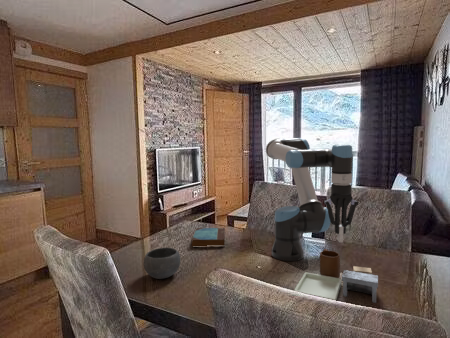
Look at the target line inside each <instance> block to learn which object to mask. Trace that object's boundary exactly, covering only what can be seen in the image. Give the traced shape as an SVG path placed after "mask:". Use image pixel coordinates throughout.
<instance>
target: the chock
mask: <svg viewBox="0 0 450 338" xmlns="http://www.w3.org/2000/svg"><path fill="white" fill-rule="evenodd" d="M352 268H353V269H352V271H354V272H359V273H365V274H371V275H373V271H372V268H371V267H364V266H355V265H353V267H352Z"/></svg>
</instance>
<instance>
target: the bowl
mask: <svg viewBox="0 0 450 338" xmlns="http://www.w3.org/2000/svg"><path fill="white" fill-rule="evenodd" d="M180 265H181V255H180V252H179V251H178V250H177V249H175V248H173V247H158V248H155V249H151V250H149V251H148V252H147V253H145V255H144V259H143V268H144V272H146V274H147V275H148V276H150V277H151V278H154V279H157V280H158V279H159V280H163V279H167V278H170V277H171V276H173V275H174V274H176V272H177V271H178V270H179V268H180Z"/></svg>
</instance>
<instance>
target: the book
mask: <svg viewBox="0 0 450 338" xmlns="http://www.w3.org/2000/svg"><path fill="white" fill-rule="evenodd" d="M225 228H226V227H197V228H195V231H194V234H193V236H192V239H191V240H192V242H191V247H192V246H207V245H225V244H226V242H225V241H226V229H225ZM225 246H226V245H225Z"/></svg>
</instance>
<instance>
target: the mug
mask: <svg viewBox="0 0 450 338" xmlns="http://www.w3.org/2000/svg"><path fill="white" fill-rule="evenodd" d="M319 275H324V276H329V277H334V278H340V276H341V255H340V253H338V252H337V251H334V250H329V249H327V248H324V249H323V250H322V251H320V253H319ZM340 279H341V278H340Z"/></svg>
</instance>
